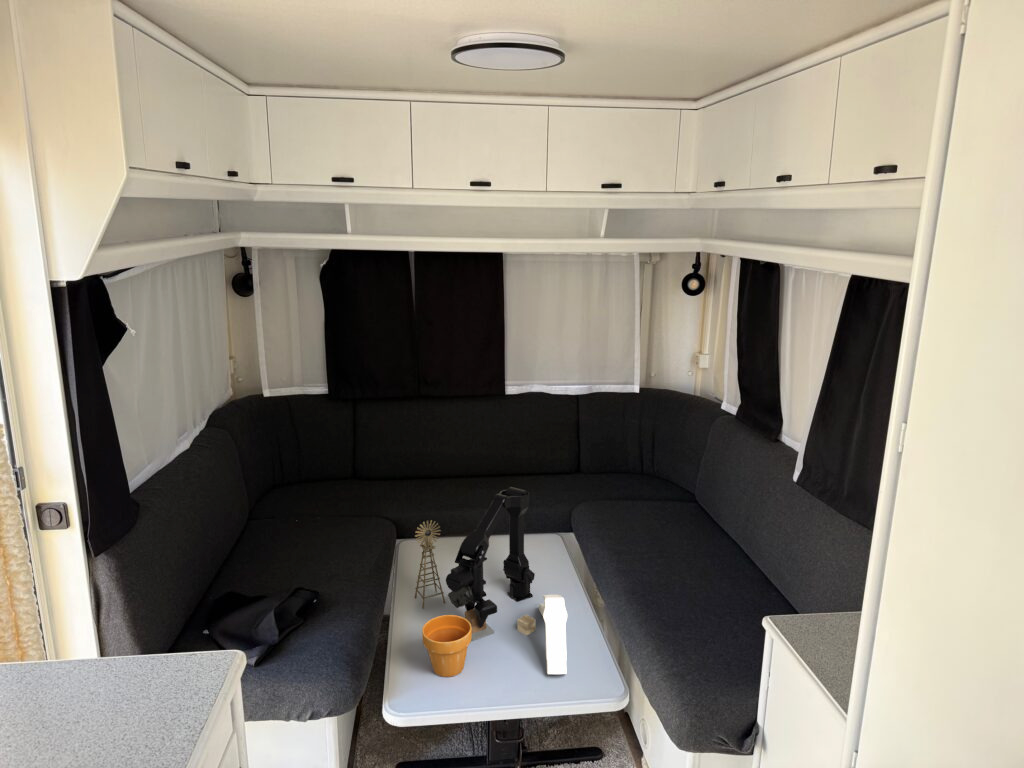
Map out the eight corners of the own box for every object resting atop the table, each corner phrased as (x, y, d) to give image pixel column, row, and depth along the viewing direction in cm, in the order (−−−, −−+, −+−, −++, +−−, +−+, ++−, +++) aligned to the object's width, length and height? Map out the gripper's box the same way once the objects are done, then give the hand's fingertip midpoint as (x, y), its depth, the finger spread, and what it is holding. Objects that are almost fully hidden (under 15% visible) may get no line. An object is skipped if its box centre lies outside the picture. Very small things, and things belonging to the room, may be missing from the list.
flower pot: (415, 677, 198) (413, 636, 195) (437, 649, 211) (435, 610, 208) (460, 688, 193) (459, 646, 190) (480, 658, 206) (479, 619, 203)
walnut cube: (478, 621, 224) (478, 607, 223) (486, 628, 220) (485, 614, 219) (464, 625, 222) (464, 611, 221) (472, 633, 218) (471, 619, 216)
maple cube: (526, 625, 223) (526, 614, 222) (535, 630, 220) (535, 619, 219) (517, 630, 220) (517, 619, 219) (526, 635, 218) (526, 624, 217)
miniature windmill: (421, 609, 233) (417, 526, 226) (413, 597, 240) (409, 517, 233) (446, 602, 237) (443, 521, 230) (437, 591, 244) (434, 512, 237)
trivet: (479, 618, 227) (479, 616, 227) (494, 633, 219) (494, 631, 219) (457, 625, 223) (457, 623, 223) (471, 641, 215) (471, 638, 215)
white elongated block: (560, 656, 228) (558, 591, 233) (569, 674, 195) (567, 597, 200) (539, 657, 228) (538, 591, 232) (545, 674, 195) (543, 598, 200)
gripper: (437, 571, 221) (439, 615, 224) (465, 598, 205) (466, 645, 209) (469, 562, 226) (470, 605, 230) (497, 587, 211) (498, 633, 214)
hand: (475, 622), depth 221 cm, fingers open, 7 cm apart
